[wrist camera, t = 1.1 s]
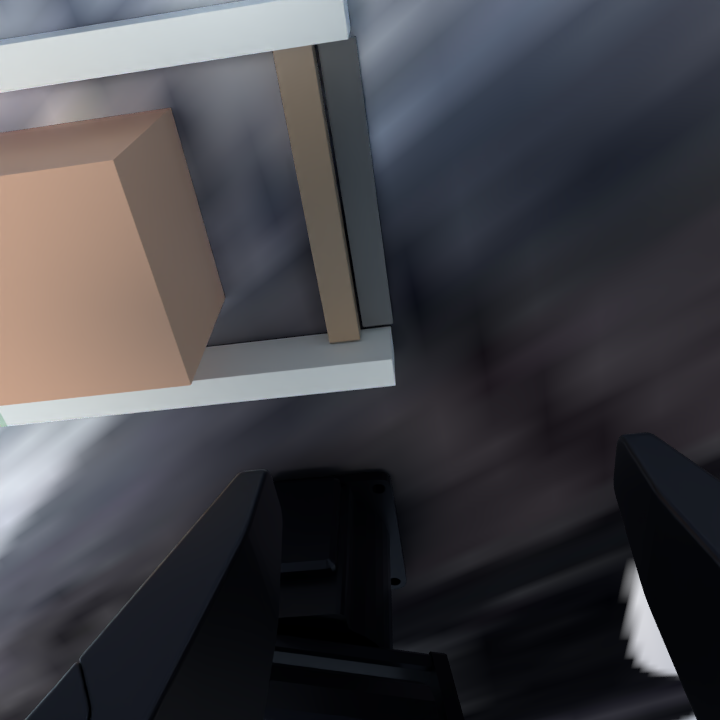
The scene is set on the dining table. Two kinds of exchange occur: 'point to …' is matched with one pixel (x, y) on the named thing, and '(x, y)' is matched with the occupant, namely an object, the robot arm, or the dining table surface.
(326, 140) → the trap lane
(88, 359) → the block
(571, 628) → the dining table surface
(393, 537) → the robot arm
